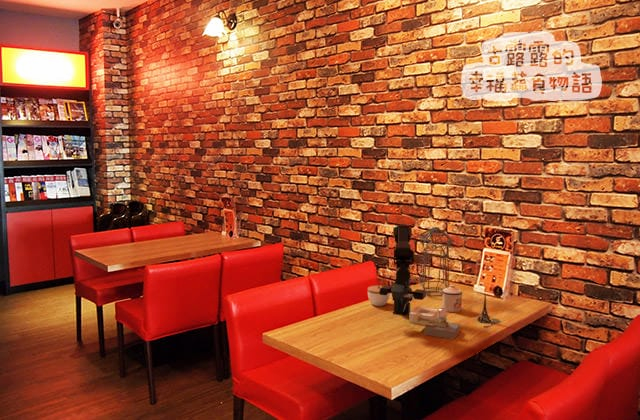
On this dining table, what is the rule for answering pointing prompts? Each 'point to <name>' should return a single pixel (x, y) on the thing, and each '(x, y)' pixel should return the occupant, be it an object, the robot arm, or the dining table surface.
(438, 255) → the geometric lantern
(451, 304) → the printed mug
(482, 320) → the eiffel tower figurine
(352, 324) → the dining table surface
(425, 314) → the square hole block
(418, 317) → the brass guide bars
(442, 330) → the socket block
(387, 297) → the lidded jar
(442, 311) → the steel pin
